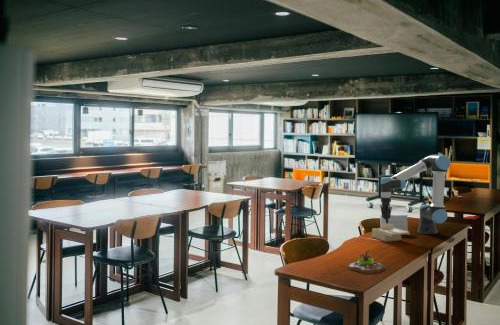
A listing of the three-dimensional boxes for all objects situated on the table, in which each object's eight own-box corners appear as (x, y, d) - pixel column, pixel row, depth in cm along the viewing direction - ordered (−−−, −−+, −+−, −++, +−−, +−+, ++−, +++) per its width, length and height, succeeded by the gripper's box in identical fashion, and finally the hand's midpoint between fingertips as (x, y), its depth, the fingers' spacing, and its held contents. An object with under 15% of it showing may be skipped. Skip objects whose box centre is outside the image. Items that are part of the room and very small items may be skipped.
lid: (395, 230, 358) (394, 224, 358) (409, 235, 341) (409, 228, 341) (377, 232, 354) (377, 225, 354) (391, 236, 337) (391, 229, 336)
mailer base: (387, 235, 367) (387, 227, 367) (401, 240, 350) (400, 231, 350) (372, 237, 363) (372, 228, 363) (385, 241, 346) (385, 232, 346)
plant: (390, 269, 274) (390, 250, 273) (370, 275, 261) (370, 256, 261) (363, 262, 289) (363, 245, 289) (343, 268, 277) (343, 250, 276)
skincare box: (406, 233, 375) (406, 214, 375) (408, 234, 370) (407, 215, 369) (380, 233, 377) (379, 214, 377) (381, 234, 372) (381, 215, 371)
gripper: (376, 196, 360) (377, 226, 361) (386, 198, 348) (386, 228, 349) (385, 195, 362) (385, 225, 363) (395, 197, 350) (395, 228, 351)
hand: (386, 227), depth 356 cm, fingers closed
